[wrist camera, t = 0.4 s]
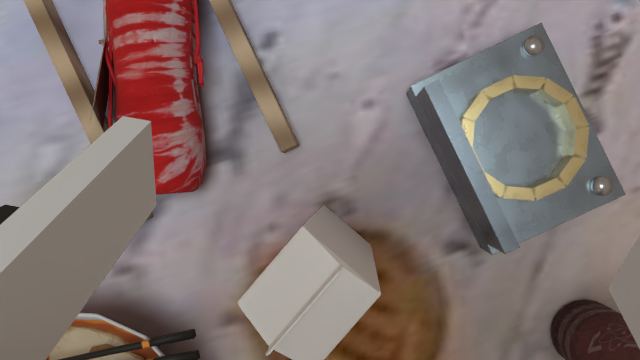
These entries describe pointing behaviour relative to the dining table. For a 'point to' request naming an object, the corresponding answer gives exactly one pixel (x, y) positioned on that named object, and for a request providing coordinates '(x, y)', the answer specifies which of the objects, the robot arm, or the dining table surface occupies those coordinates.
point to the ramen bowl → (114, 342)
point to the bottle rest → (84, 93)
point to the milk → (313, 289)
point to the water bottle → (157, 83)
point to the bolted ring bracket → (514, 141)
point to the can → (593, 333)
